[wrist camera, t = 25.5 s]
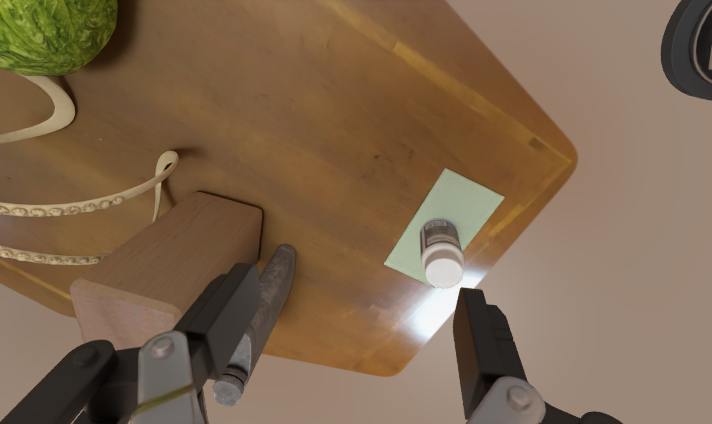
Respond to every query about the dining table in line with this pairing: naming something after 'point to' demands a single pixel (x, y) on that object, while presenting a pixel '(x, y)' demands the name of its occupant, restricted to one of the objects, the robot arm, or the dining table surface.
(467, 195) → the edge mat
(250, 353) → the flask
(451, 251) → the pill bottle
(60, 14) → the lettuce
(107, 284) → the wooden block
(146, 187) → the octopus tentacle
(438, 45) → the dining table surface
